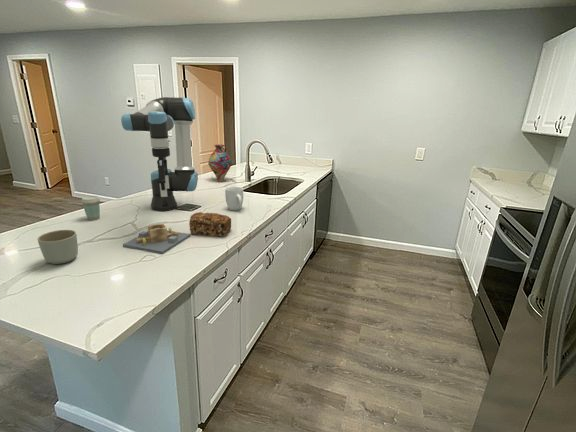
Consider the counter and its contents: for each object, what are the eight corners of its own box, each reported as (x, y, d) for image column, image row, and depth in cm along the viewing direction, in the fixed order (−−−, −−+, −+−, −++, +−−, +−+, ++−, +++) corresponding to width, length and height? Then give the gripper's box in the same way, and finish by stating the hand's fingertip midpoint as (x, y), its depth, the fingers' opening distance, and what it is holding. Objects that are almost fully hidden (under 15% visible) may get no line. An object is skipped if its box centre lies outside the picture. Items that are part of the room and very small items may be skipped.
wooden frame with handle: (138, 245, 140) (136, 233, 138) (136, 239, 146) (134, 227, 144) (179, 238, 149) (178, 226, 147) (176, 233, 155) (175, 221, 153)
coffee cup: (106, 217, 176) (102, 196, 172) (91, 222, 168) (87, 200, 164) (96, 215, 179) (92, 194, 175) (81, 219, 172) (76, 198, 168)
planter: (39, 269, 120) (33, 243, 117) (48, 256, 131) (42, 231, 127) (78, 264, 125) (72, 239, 121) (83, 251, 136) (78, 228, 132)
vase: (210, 178, 275) (208, 143, 265) (232, 178, 277) (231, 143, 267) (207, 183, 257) (205, 146, 248) (231, 183, 260) (230, 146, 250)
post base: (123, 246, 141) (121, 233, 139) (154, 230, 160) (153, 219, 158) (163, 254, 136) (161, 240, 134) (190, 236, 155) (189, 224, 153)
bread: (189, 234, 157) (188, 215, 154) (198, 227, 167) (197, 209, 164) (225, 238, 155) (224, 218, 151) (232, 230, 165) (231, 211, 161)
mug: (249, 211, 193) (249, 191, 189) (232, 214, 187) (232, 193, 183) (239, 205, 205) (238, 185, 201) (223, 207, 199) (222, 187, 195)
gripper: (167, 151, 133) (172, 199, 141) (171, 143, 155) (175, 185, 163) (148, 152, 131) (154, 200, 139) (154, 143, 153) (159, 185, 161)
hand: (165, 192), depth 151 cm, fingers open, 13 cm apart
